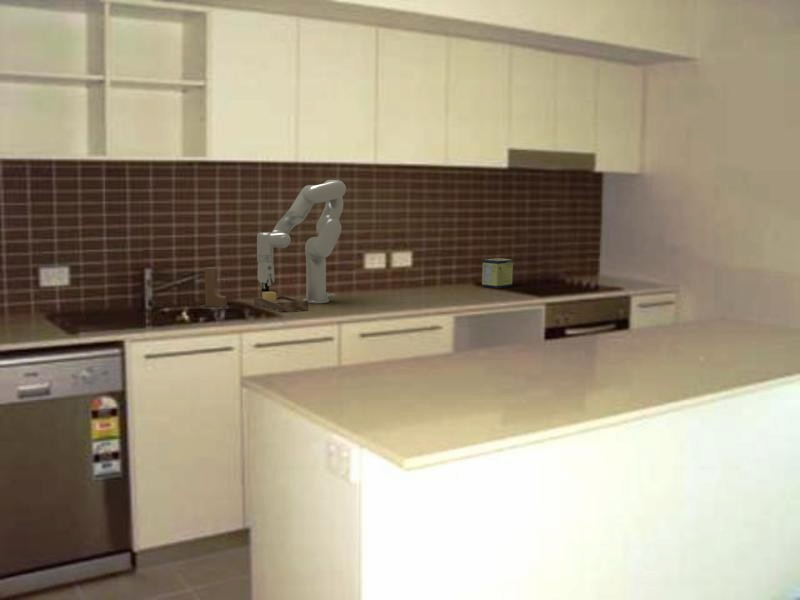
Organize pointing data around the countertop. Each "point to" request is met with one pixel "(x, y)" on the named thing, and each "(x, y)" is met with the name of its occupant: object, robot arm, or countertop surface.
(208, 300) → the wooden block
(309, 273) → the robot arm
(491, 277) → the protein box
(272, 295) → the block
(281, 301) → the trap board
